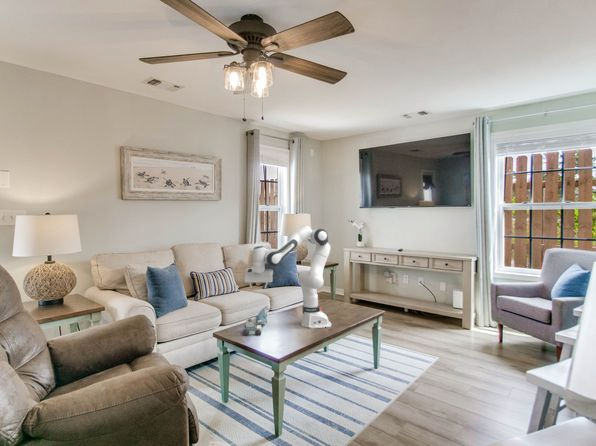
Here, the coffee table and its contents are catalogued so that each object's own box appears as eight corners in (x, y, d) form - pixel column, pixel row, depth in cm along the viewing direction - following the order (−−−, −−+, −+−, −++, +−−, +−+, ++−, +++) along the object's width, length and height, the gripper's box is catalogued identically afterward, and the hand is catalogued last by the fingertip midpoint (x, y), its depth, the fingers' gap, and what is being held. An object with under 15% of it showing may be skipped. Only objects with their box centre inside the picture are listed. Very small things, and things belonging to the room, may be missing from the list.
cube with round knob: (254, 328, 233) (254, 318, 233) (253, 330, 228) (253, 320, 228) (246, 328, 232) (246, 318, 232) (246, 330, 227) (246, 320, 227)
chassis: (261, 330, 236) (261, 323, 236) (261, 335, 225) (261, 329, 225) (244, 330, 236) (244, 323, 235) (243, 336, 224) (243, 329, 224)
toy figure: (266, 329, 237) (266, 308, 237) (251, 328, 239) (251, 307, 239) (272, 322, 253) (272, 302, 253) (259, 321, 255) (259, 302, 255)
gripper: (273, 268, 241) (273, 287, 241) (244, 268, 240) (244, 287, 240) (273, 269, 235) (273, 289, 235) (243, 269, 233) (243, 289, 234)
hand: (258, 288), depth 237 cm, fingers open, 8 cm apart
